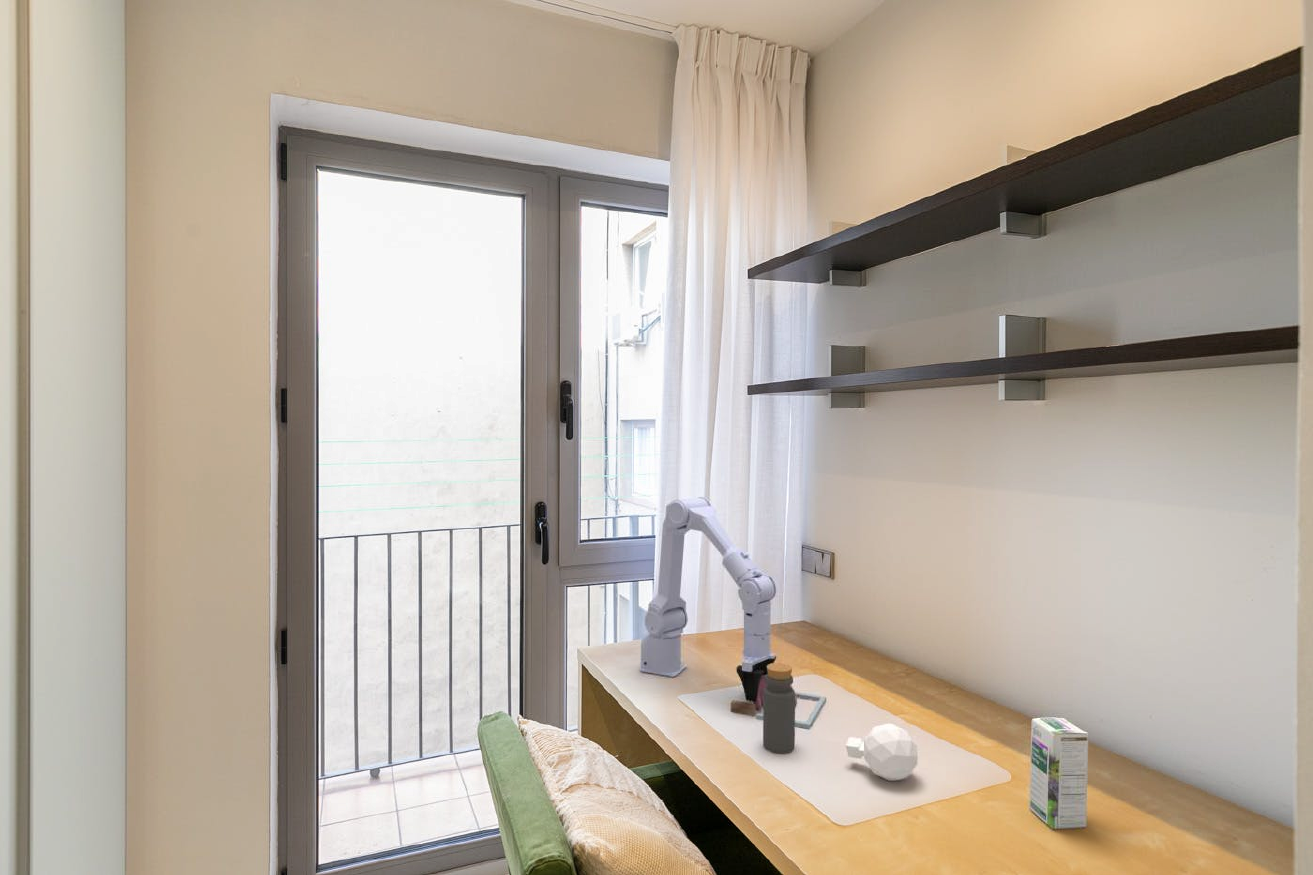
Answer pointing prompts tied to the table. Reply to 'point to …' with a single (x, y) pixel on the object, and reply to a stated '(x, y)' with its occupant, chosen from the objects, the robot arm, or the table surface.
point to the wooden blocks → (743, 707)
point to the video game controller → (761, 692)
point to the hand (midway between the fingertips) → (756, 694)
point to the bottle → (779, 709)
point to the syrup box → (1058, 773)
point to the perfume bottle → (886, 751)
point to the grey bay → (812, 716)
